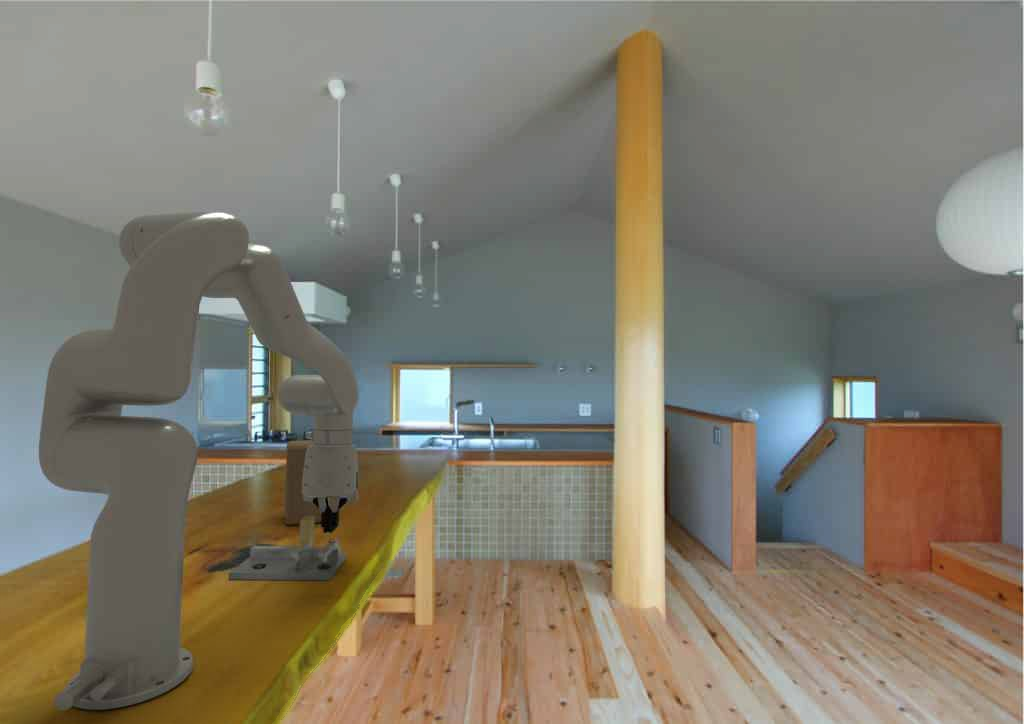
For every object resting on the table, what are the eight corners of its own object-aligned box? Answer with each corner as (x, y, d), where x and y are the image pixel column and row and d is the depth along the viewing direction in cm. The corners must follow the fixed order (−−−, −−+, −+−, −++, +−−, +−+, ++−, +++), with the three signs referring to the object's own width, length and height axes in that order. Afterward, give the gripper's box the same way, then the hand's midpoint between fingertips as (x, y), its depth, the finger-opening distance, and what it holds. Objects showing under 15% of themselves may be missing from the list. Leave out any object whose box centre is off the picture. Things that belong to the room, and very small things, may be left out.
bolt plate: (329, 580, 99) (330, 553, 99) (228, 579, 98) (229, 552, 98) (346, 558, 111) (347, 534, 111) (256, 557, 110) (257, 533, 110)
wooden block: (283, 516, 143) (286, 440, 143) (324, 513, 147) (326, 439, 148) (285, 526, 134) (288, 444, 134) (328, 522, 138) (330, 443, 138)
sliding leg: (299, 568, 101) (300, 527, 101) (289, 568, 101) (290, 527, 101) (313, 553, 109) (314, 516, 109) (304, 553, 109) (305, 516, 109)
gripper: (287, 439, 104) (284, 536, 104) (366, 441, 105) (363, 537, 104) (301, 435, 112) (298, 525, 111) (374, 436, 112) (371, 526, 112)
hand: (329, 530), depth 108 cm, fingers closed
